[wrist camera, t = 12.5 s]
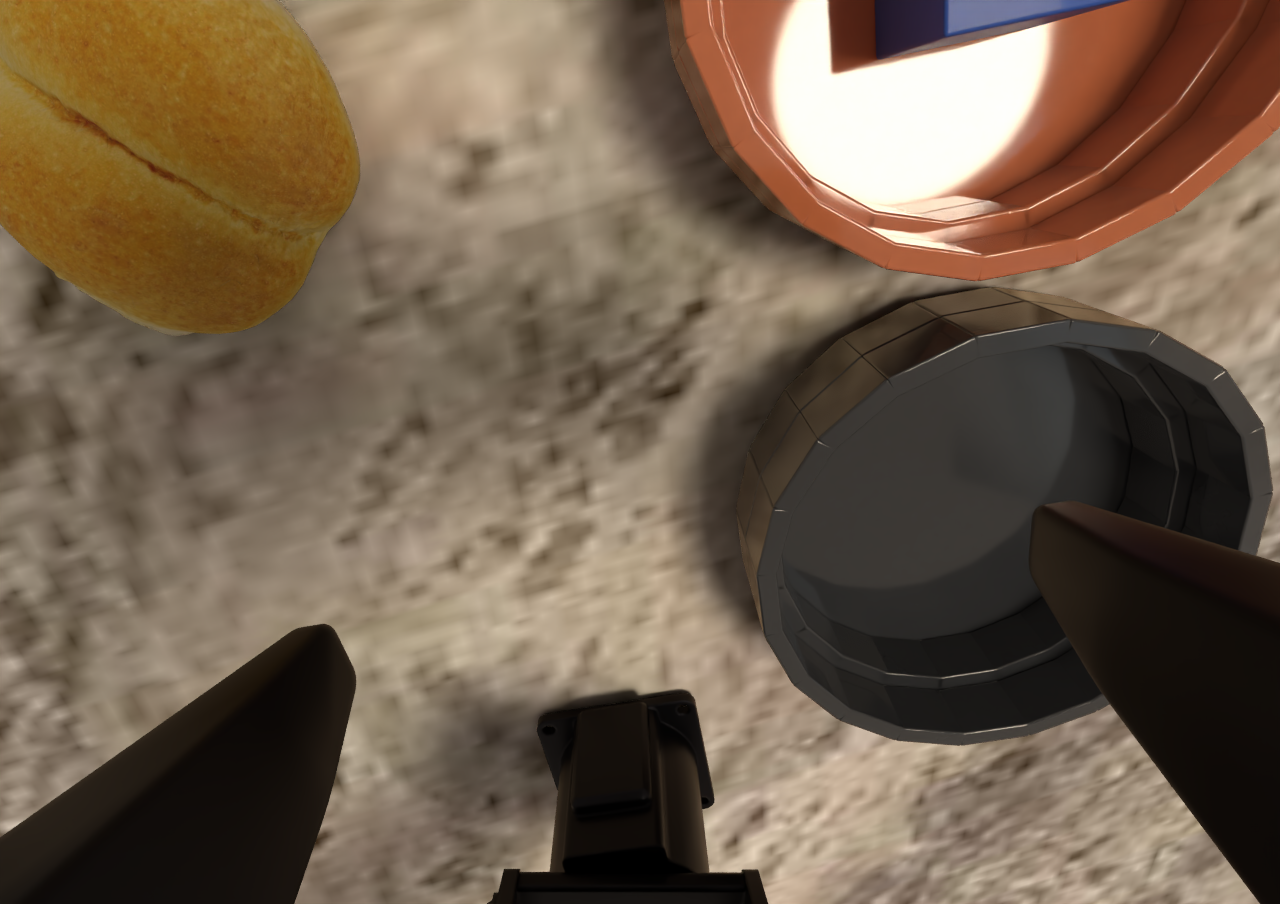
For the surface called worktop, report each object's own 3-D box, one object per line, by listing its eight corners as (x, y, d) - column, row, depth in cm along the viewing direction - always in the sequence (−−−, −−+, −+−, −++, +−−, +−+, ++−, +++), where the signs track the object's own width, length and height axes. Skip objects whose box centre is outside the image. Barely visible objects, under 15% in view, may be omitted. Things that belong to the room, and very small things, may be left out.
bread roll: (418, 104, 17) (364, 94, 14) (270, 360, 20) (193, 408, 17) (102, -150, 15) (-62, -241, 11) (-14, 181, 18) (-176, 191, 14)
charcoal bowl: (1121, 618, 25) (1217, 709, 21) (757, 674, 26) (781, 772, 22) (1184, 244, 19) (1334, 270, 15) (709, 332, 20) (730, 380, 16)
